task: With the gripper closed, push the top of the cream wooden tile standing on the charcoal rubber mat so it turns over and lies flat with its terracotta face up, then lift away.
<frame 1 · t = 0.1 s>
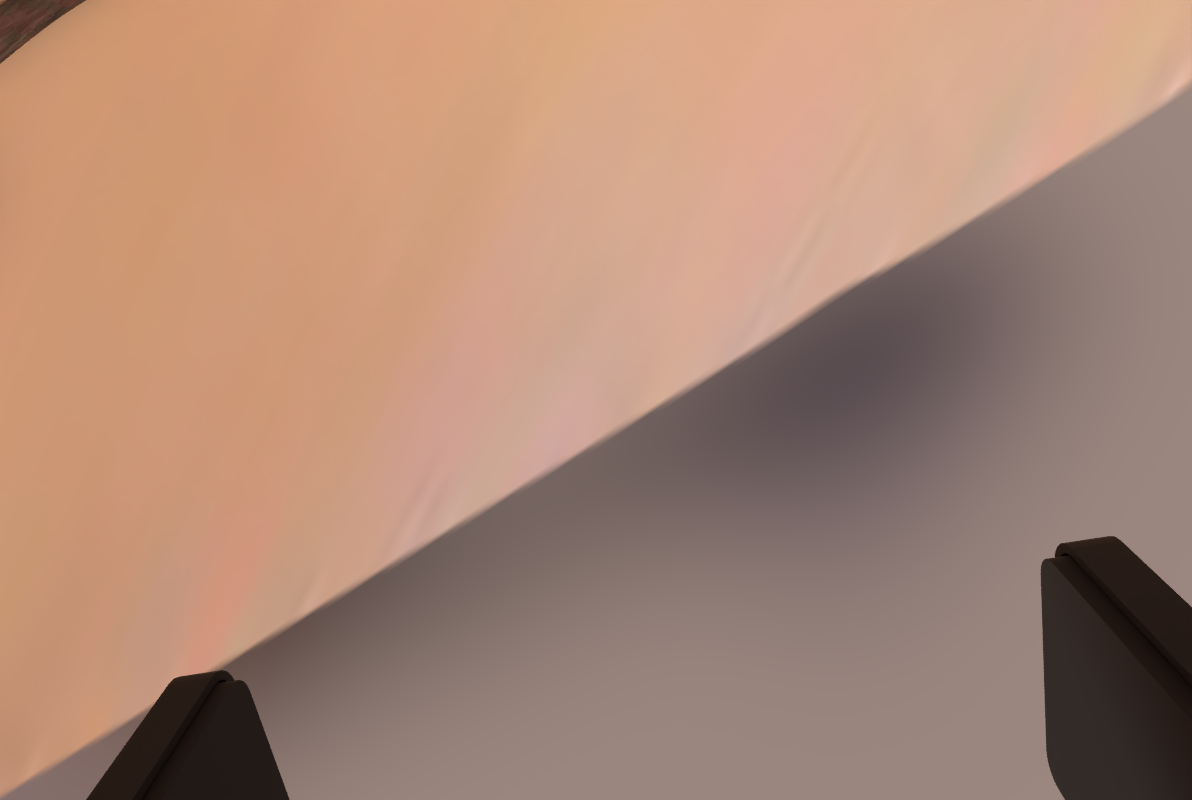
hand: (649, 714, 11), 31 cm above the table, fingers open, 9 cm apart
spoon: (54, 12, 38), on the table
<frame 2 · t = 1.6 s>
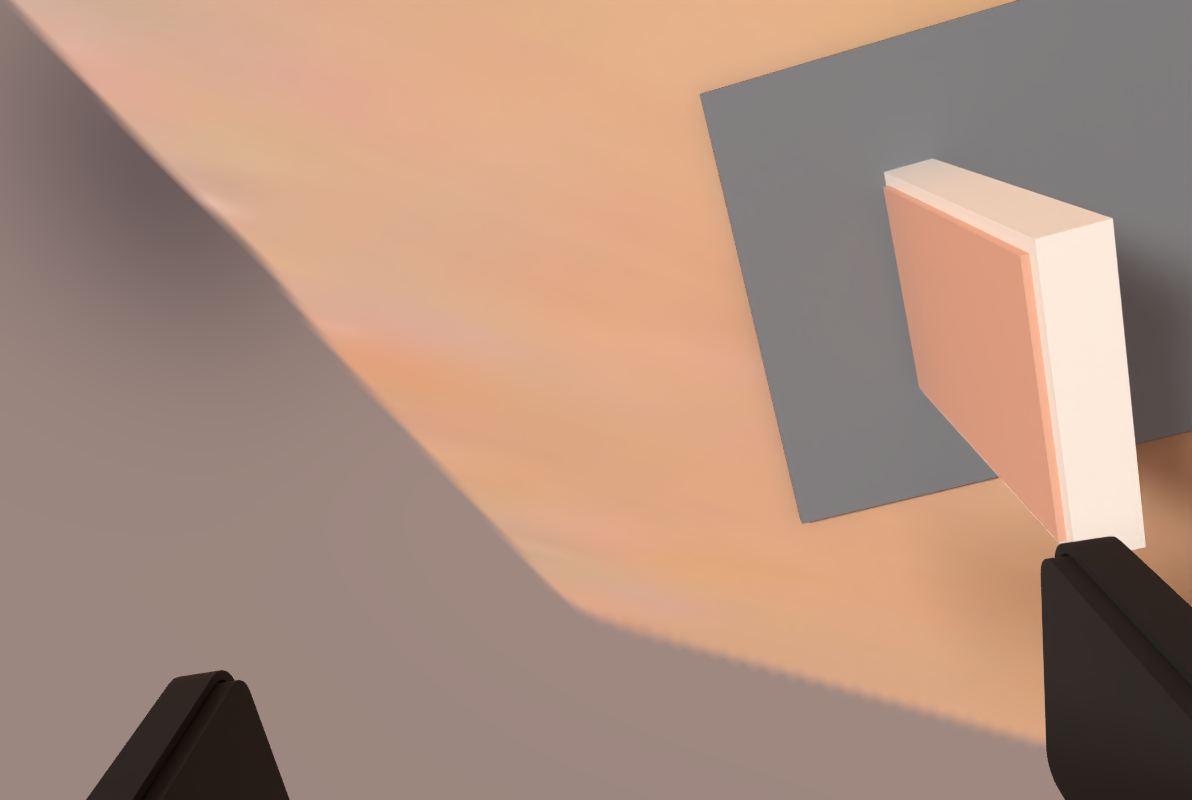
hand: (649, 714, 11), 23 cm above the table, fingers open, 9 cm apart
tile: (927, 280, 32), resting on mat
mat: (1041, 246, 32), on the table
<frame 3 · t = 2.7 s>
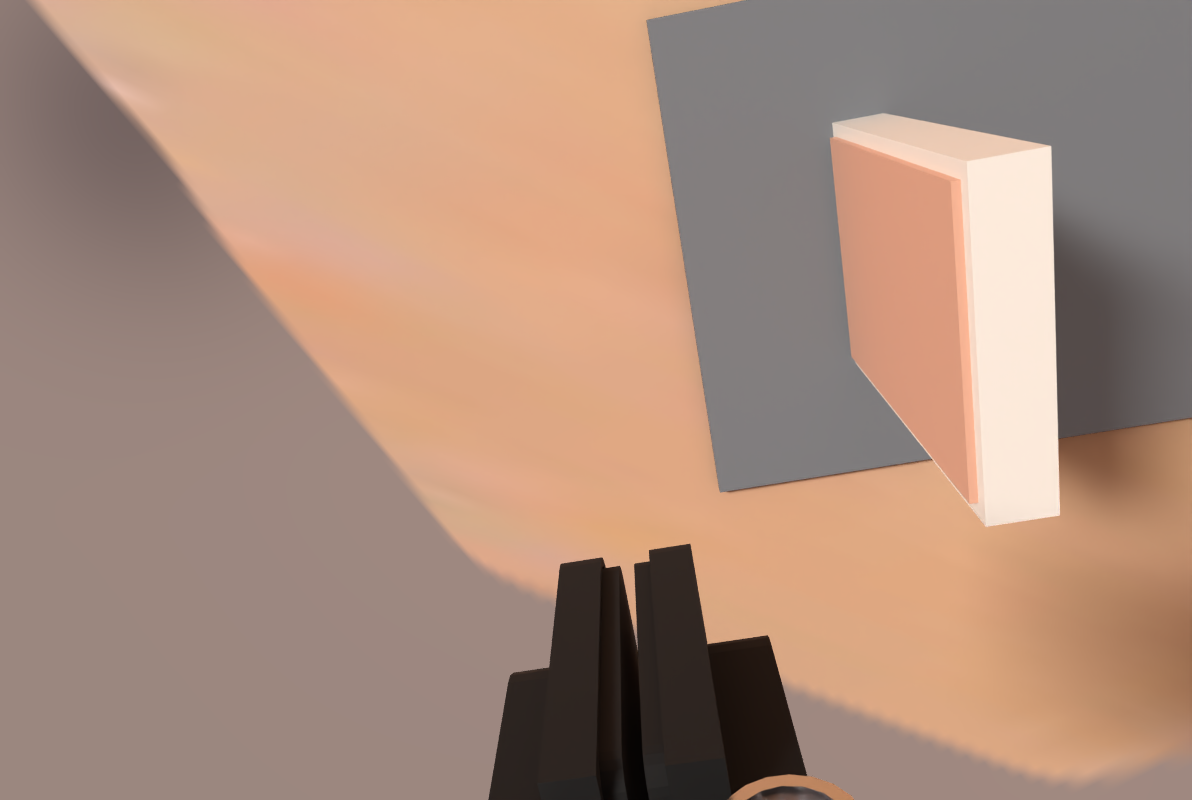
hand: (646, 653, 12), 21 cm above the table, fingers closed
tile: (869, 243, 31), resting on mat
mat: (989, 219, 31), on the table
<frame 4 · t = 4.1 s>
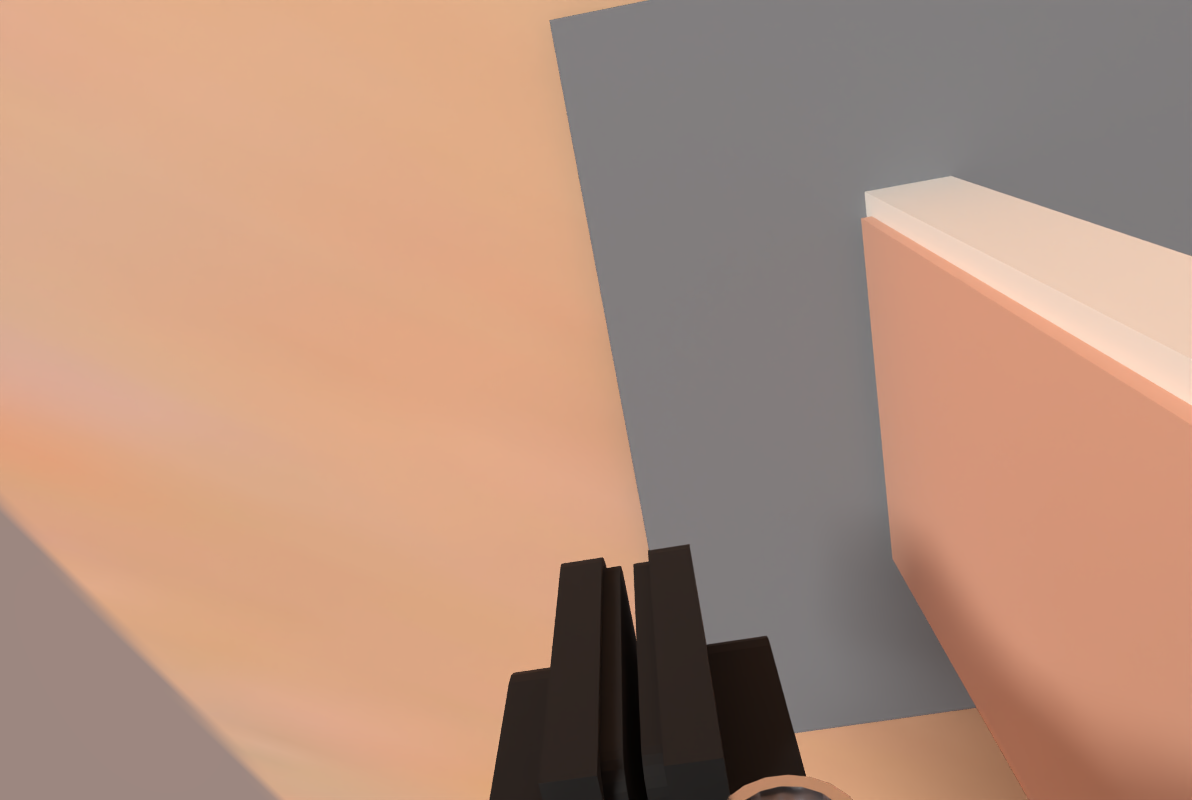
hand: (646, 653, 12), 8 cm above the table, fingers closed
tile: (922, 384, 19), resting on mat
mat: (1117, 344, 19), on the table
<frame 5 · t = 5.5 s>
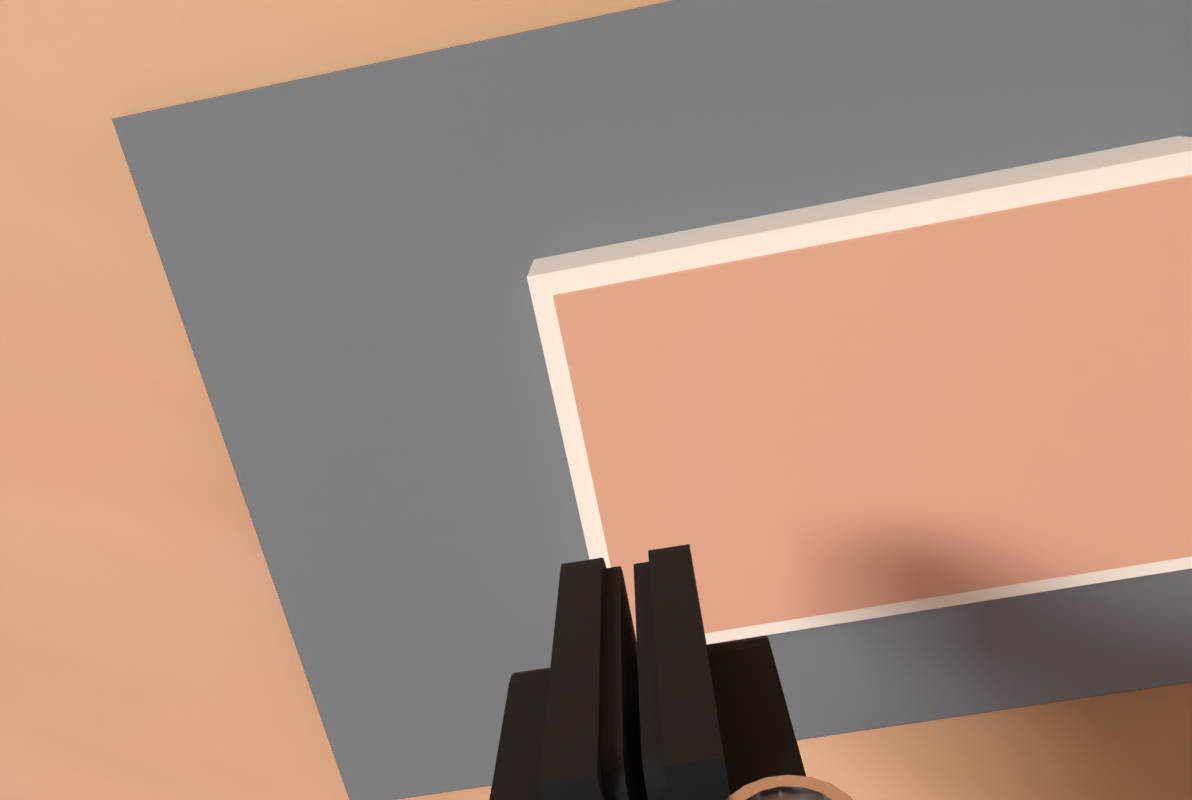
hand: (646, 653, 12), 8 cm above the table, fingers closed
tile: (573, 465, 19), point 1 cm above the table, tilted 90°, touching mat
mat: (715, 417, 20), on the table
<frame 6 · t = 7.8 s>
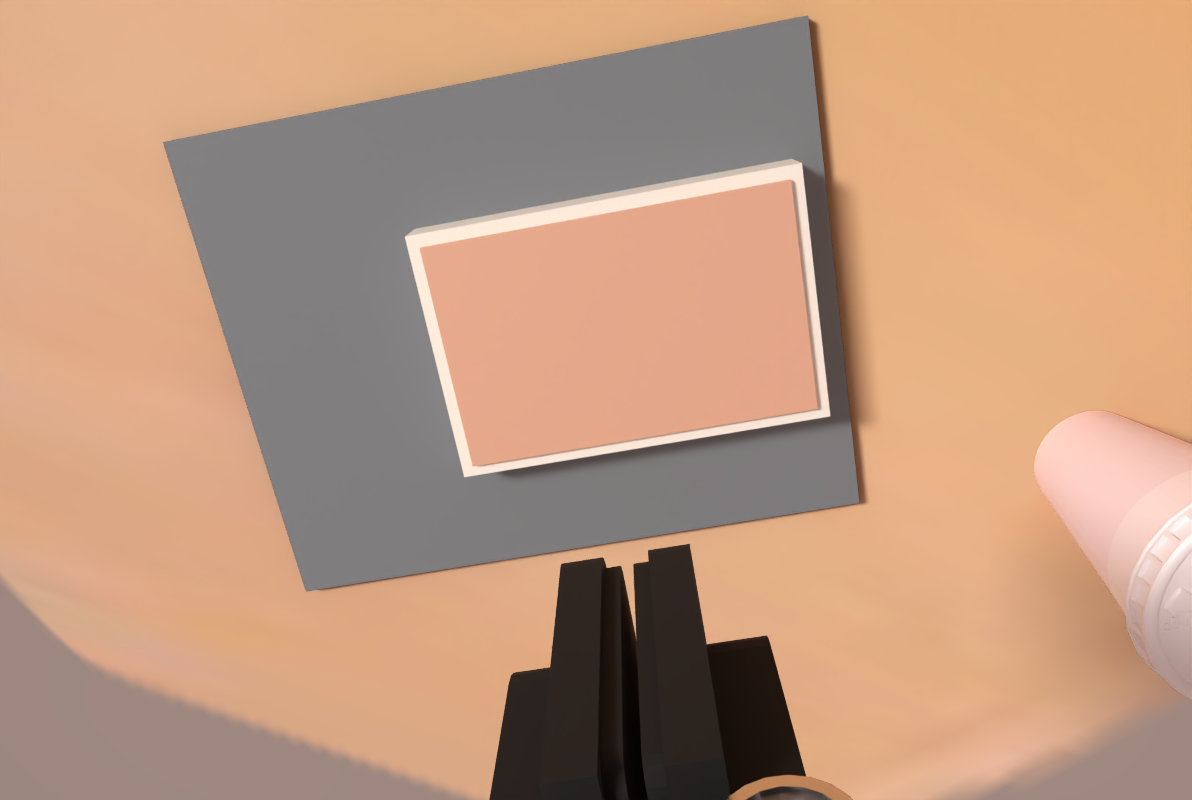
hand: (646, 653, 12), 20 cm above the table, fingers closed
tile: (440, 355, 31), point 1 cm above the table, tilted 90°, touching mat
smoothie: (1085, 458, 33), on the table
mat: (532, 330, 31), on the table
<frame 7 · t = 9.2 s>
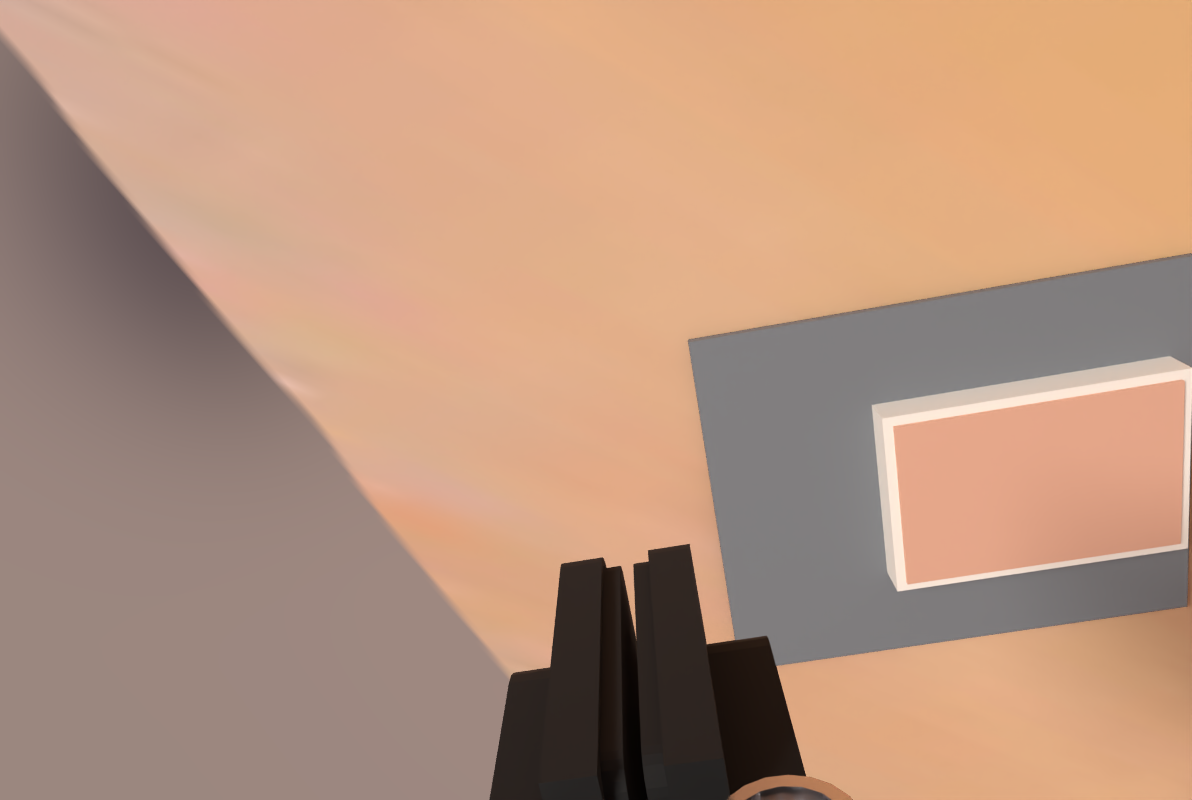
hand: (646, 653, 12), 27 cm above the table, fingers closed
tile: (884, 499, 40), point 1 cm above the table, tilted 90°, touching mat
mat: (946, 476, 41), on the table
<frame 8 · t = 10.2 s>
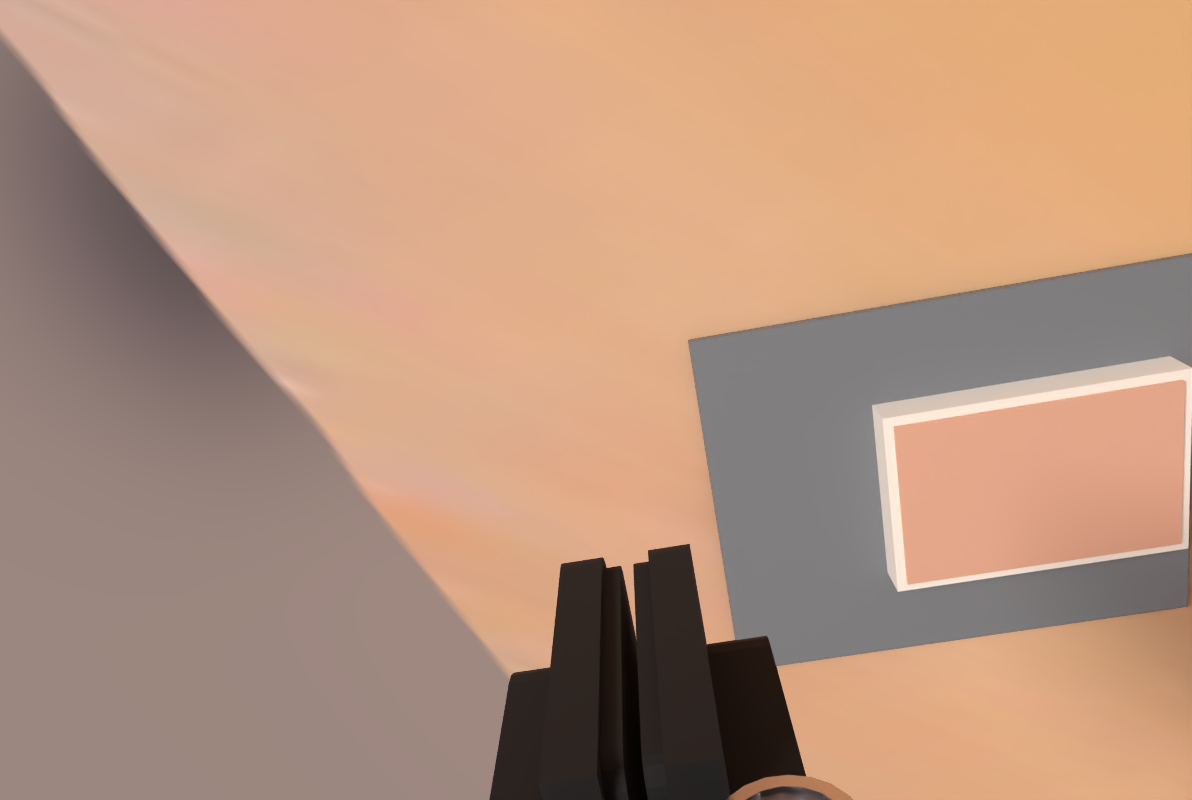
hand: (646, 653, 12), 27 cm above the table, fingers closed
tile: (885, 499, 40), point 1 cm above the table, tilted 90°, touching mat
mat: (946, 476, 41), on the table
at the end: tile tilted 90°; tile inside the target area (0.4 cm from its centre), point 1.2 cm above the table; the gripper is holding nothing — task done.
